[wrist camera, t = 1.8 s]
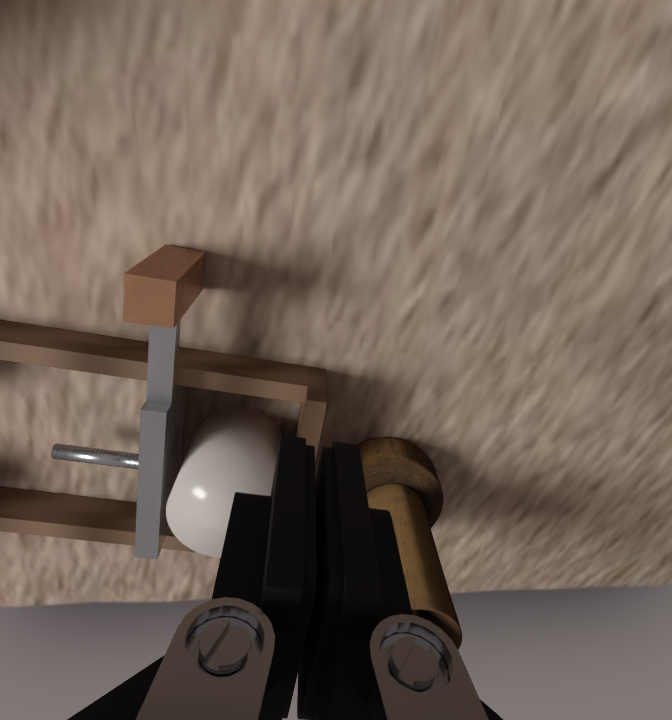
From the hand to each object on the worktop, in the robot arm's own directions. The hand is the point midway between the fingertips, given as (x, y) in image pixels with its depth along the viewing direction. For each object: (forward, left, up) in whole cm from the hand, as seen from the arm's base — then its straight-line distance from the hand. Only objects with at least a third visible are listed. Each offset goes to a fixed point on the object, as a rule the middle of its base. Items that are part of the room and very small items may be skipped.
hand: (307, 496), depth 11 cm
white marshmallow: (+3, +11, -17) cm, 20 cm away
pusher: (+9, +7, -17) cm, 20 cm away
